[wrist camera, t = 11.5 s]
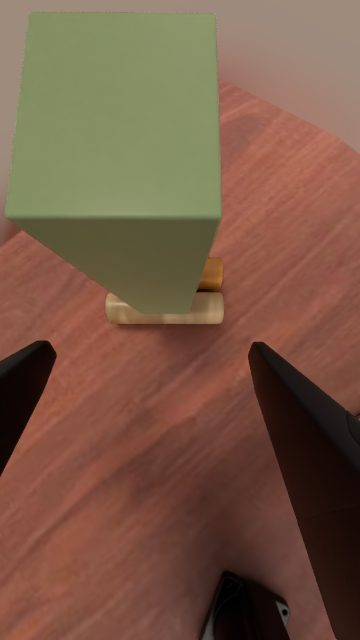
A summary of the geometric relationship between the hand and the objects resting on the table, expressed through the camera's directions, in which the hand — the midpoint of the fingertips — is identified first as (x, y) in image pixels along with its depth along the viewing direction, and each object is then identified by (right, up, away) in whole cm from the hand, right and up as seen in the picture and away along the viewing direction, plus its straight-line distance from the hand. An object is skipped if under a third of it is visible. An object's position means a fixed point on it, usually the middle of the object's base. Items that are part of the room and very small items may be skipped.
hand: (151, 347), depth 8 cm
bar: (0, +4, +9) cm, 10 cm away
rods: (0, +4, +12) cm, 13 cm away
